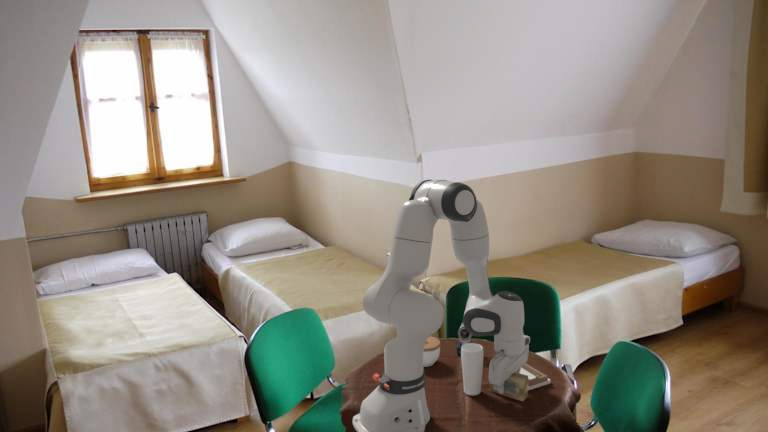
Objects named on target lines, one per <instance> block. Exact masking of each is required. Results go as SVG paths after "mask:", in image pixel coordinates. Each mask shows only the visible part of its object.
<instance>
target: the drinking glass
mask: <svg viewBox="0 0 768 432" xmlns="http://www.w3.org/2000/svg"><path fill="white" fill-rule="evenodd" d="M460 362H461V372H462V383H463V392H464V394H465V395H468V396H471V397H474V396H478V395H480V394H481V393H482V392H481V391H482V379H483V370H484V369H483V368H484V367H483V366H484V347H483V346H482V344H479V343H475V342H469V343H467V344H464V345H463V346H462V347H461V356H460Z"/></svg>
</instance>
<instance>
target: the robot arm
mask: <svg viewBox="0 0 768 432" xmlns="http://www.w3.org/2000/svg"><path fill="white" fill-rule="evenodd" d="M439 220H445V221H446V220H447V221H448V223H449V226H450V238H451V244H452V249H453V252H454V256H455V258H456V260H457V261H458V262H459V263H461V264H463V265H464V267H465V270H466V275H467V281H468V283H467V284H468V287H469V293H468V295H467V300H466V302H465V310H464V313H463V317H462V323H463V325H464V327H465V329H466V330H467V331H468V332H469V333H470V334H472V336H475V337H487V336H489V337H490V336H493V338H494V340H493V349H494V351H495V353H496V354H494V355H493V357H492V358H491V359H490V360H489V361H490V362H489V365H488V366H489V367H488V368H489V369H488V383H489V384H490V383H491V384H494V385H497V387H498V393H500V394H503V393H504V392H505V387H504V386H503V384H504V381H506V380H507V379H508V378H509V377H510V376H511V375H512V374H513V373H515V372H516V373H520V370H521V366H522V365H524V364H525V363H526V364H527V362H528V359H529V352H530V351H529V348H530V345H529V344H530V343H531V337H530V336H528V335H525V334H524V326H525V307H524V302H523V300H522V298H521V296H519V295H518V294H516V293H514V292H511V291H499V292H497V293H496V294H495V295H494V294H493V292H492V290H491V288H490V283H489V281H490V280H489V275H488V274H489V273H488V267H487V266H488V265H487V264H488V263H487V262H488V258H489V253H490V231H489V227H488V221H487V217H486V213H485V209H484V207H483V204H482V203H481V201H479V200H478V199H477V197H476V194H475V191H474V190H473V188H472V187H471V186H469V185H468V184H465V183H463V182H458V181H457V182H454V181H450V180H447V179H425V180H422V181H419V182H418V183H417V184H416V185H415V186H414V187H413V189H412V191H411V193H410V196H409V198H408V200H407V201H405V202H404V203H403V204H401V206H400V208H399V211H398V213H397V218H396V220H395V225H394V228H393V229H394V230H393V233H392V234H393V235H392V241H391V246H390V251H389V258H388V262H387V265H386V268H385V270H384V272H383V274H382V275H381V277H380V278H379V280H377V281H376V282H375V283H373V284H372V285H371V286H369V287H368V288H367V290H366V291H365V293H364V295H363V299H362V305H363V310H364V312H365V314H367V315H368V316H370V317H371V318H373V319H374V320H376V321H377V322H379V323H383V324H386V325H387V326H388V325H389V326H392V327H395V329H396V337H394V338H392V339H390V340H389V341H388V342H387V343H386V344H385V346H384V348H383V349H384V350H383V359H384V363H383V364H384V371H383V373H382V375H381V376H380V374H379V373H374V374H373V375H372V380H373V381H374V382H376V383H379V385H378V386H376V388H375V389H373V391H371V393H370V394H368V396H366V398H364V399H363V400H362V402H361V405H360V411H359V413H357V414H356V415H354V416H353V417H352V425H353V428H354V430H355V431H356V432H425V430H426V426H427V424H428V423H429V421H430V420H431V415H430V410H429V408H428V405H427V404H428V403H427V400H426V398H427V397H426V392H425V387H426V371H425V370H424V367H423V353H424V346H425V342H426V340H427V338H428V337H429V336H431V335H434V334H435V333H436V332H437V331H438V330H439V329H440V328H441V326H442V325H443V322H444V316H445V315H444V313H445V312H444V307H443V305H442V303H441V302H440V300H437V299H436V298H434V297H432V296H430V295H428V294H427V293H424V292H419V291H415V290H413V289H412V290H411V286H412V284H413V282H414V279H415V278H417V277H419V276H421V275H423V274H425V273H426V272H427V271H428V268H429V265H430V261H431V260H430V259H431V254H432V246H433V245H432V244H433V239H434V228H435V226H436V224H437V222H438V221H439ZM500 394H499V395H500Z"/></svg>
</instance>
